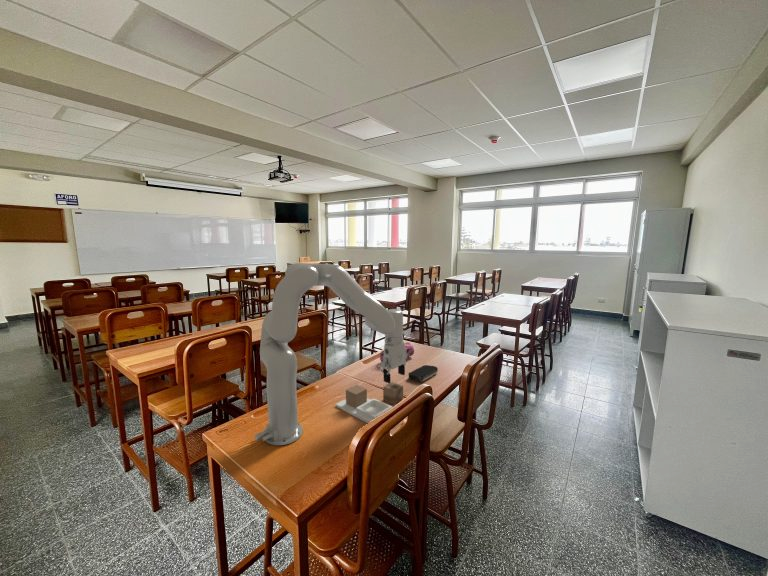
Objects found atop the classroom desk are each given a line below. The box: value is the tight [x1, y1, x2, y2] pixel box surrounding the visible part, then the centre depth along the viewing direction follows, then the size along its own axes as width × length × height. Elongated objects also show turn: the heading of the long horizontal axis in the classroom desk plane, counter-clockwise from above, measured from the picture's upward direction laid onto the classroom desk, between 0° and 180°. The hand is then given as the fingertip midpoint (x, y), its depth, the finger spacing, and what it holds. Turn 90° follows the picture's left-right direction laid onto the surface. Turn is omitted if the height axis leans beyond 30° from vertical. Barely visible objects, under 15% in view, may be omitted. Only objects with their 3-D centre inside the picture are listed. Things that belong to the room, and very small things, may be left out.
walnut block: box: [382, 381, 404, 405], centre depth 130 cm, size 6×6×6 cm
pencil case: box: [379, 341, 415, 363], centre depth 174 cm, size 21×9×9 cm, turn 136°
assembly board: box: [335, 384, 394, 424], centre depth 122 cm, size 12×22×7 cm, turn 49°
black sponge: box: [407, 364, 439, 383], centre depth 154 cm, size 16×8×4 cm, turn 139°
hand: (394, 378), depth 130 cm, fingers open, 9 cm apart
